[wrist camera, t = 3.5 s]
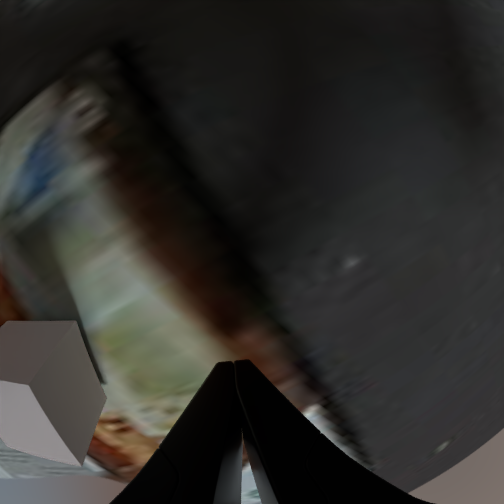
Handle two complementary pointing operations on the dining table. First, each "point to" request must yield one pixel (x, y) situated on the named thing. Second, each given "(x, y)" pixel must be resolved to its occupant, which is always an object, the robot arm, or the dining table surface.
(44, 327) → the plug
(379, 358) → the dining table surface
